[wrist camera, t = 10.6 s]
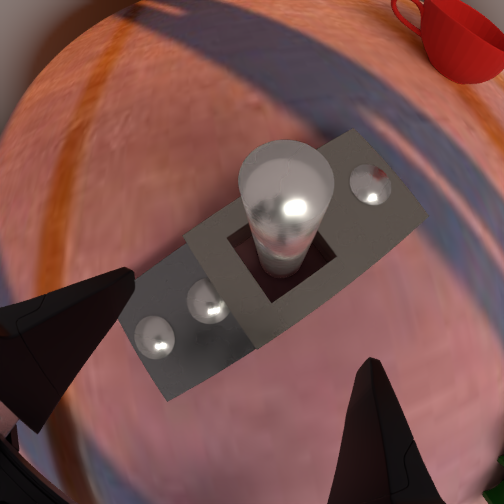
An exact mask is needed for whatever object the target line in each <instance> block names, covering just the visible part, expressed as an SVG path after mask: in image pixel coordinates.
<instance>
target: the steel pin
mask: <svg viewBox="0 0 504 504" xmlns="http://www.w3.org/2000/svg"><path fill="white" fill-rule="evenodd" d="M238 185H239V191H240V194H241V197H242V201H243V204H244V208H245V211H246V215H247V218H248V222H249V225H250V228H251V232H252V235H253V239H254V242H255V246H256V249H257V253H258V256H259V260H260V263H261V266H262V268H263V269H264V271H265V272H266V273H267V274H269V275H270V276H272V277H275V278H287V277H290V276H292V275H293V274H295V273H296V272H297V271H298V269H299V268H300V266H301V264H302V262H303V260H304V258H305V256H306V253H307V251H308V249H309V247H310V245H311V243H312V240H313V238H314V236H315V234H316V232H317V230H318V227H319V225H320V223H321V221H322V218H323V216H324V214H325V212H326V209H327V207H328V205H329V203H330V200H331V198H332V195H333V191H334V175H333V172H332V169H331V167H330V165H329V163H328V162H327V160H326V159H325V158H324V156H323V155H322V154H321V153H320V152H318V151H317V150H316V149H314V148H313V147H311V146H309V145H307V144H305V143H302V142H299V141H294V140H276V141H271V142H268V143H265V144H263V145H261V146H259V147H258V148H256V149H255V150H253V151H252V152H251V153H250V154H249V155H248V156H247V157H246V159H245V160H244V162H243V164H242V166H241V168H240V171H239V177H238Z"/></svg>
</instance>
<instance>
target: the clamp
mask: <svg viewBox="0 0 504 504" xmlns="http://www.w3.org/2000/svg"><path fill="white" fill-rule="evenodd" d="M497 461H498V462H499V463H500V464H501V465H502V466H503V467H504V455H503V456H500V457H499V458H498V460H497ZM482 495H483V497H484V498H485V500H486V501H487V502H488V504H504V480H503V481H502V482H501V483H500V484H499V485H497V486H496V487H494V488H493V489H491V490H488V491H484V492H483V494H482Z"/></svg>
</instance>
